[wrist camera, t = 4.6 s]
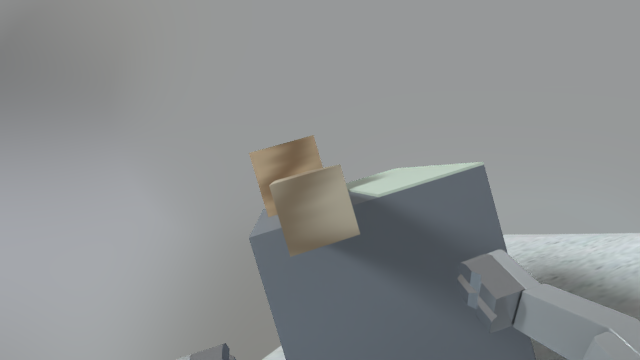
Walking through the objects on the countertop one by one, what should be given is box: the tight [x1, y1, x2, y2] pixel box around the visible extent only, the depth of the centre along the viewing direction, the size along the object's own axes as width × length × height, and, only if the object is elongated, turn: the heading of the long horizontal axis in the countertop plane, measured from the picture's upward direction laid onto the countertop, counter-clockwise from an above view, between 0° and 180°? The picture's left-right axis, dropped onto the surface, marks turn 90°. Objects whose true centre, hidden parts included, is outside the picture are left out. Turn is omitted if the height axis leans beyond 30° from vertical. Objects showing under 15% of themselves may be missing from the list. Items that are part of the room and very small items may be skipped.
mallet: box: [249, 135, 360, 257], centre depth 24 cm, size 6×23×6 cm, turn 8°
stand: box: [249, 162, 536, 360], centre depth 31 cm, size 17×18×25 cm
